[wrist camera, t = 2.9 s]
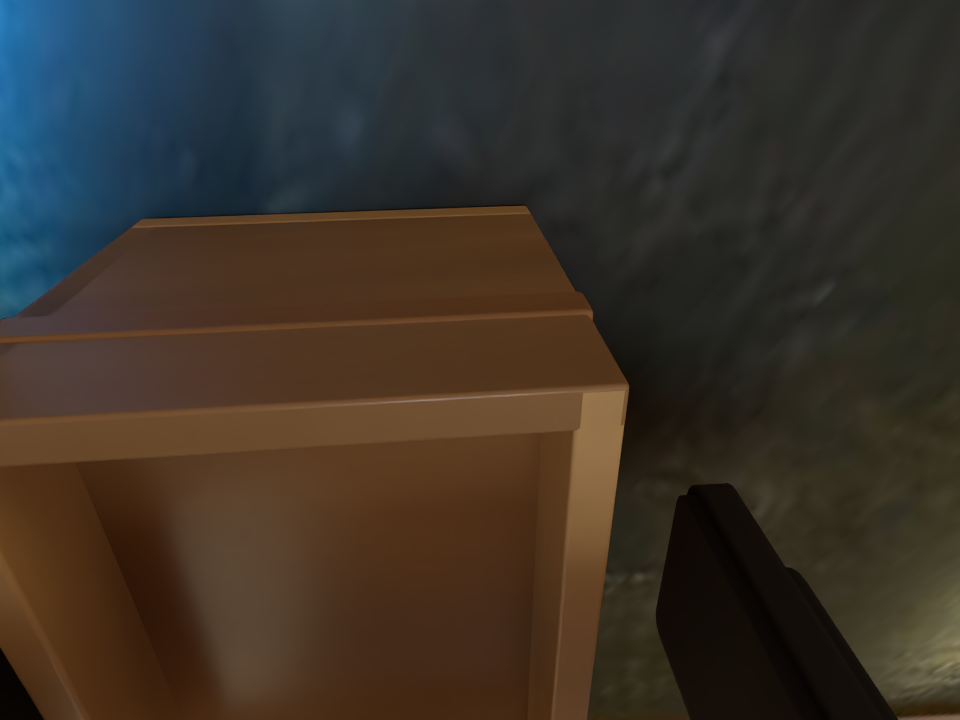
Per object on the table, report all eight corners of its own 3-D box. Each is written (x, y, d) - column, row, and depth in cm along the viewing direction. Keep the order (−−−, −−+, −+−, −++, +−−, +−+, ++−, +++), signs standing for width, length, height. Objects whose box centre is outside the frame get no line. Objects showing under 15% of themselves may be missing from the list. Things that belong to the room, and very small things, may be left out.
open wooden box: (136, 215, 10) (-147, 425, 5) (530, 201, 11) (637, 379, 6) (243, 591, 15) (151, 907, 10) (518, 569, 15) (572, 858, 10)
